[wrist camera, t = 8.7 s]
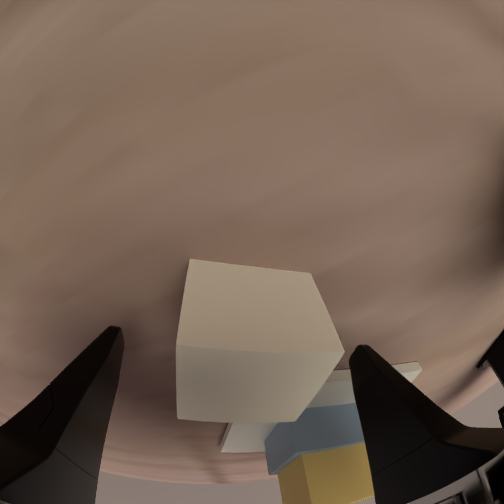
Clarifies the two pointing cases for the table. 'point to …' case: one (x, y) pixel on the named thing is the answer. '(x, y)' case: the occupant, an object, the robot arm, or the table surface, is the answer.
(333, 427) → the base brick
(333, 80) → the table surface
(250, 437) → the build plate
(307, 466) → the brick ochre
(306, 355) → the brick cream
